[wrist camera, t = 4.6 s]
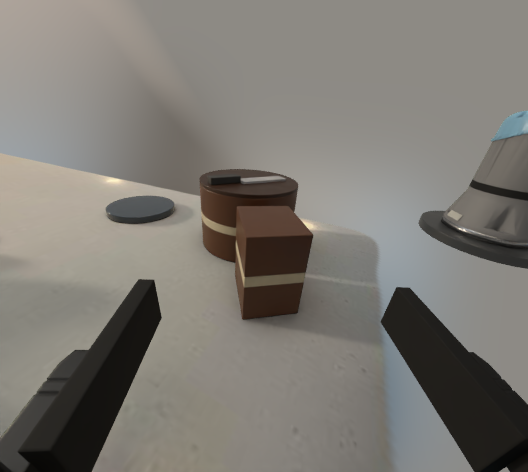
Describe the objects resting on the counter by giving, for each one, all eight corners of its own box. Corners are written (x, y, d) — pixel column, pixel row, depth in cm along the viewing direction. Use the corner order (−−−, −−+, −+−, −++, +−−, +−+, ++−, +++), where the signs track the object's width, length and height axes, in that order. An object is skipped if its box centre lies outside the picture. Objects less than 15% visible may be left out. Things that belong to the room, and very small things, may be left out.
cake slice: (235, 275, 24) (236, 205, 20) (279, 272, 25) (288, 205, 21) (242, 319, 19) (246, 237, 15) (297, 313, 20) (313, 234, 16)
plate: (177, 200, 43) (177, 195, 42) (170, 222, 34) (169, 216, 34) (119, 200, 40) (118, 195, 40) (95, 224, 32) (93, 217, 31)
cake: (276, 220, 38) (282, 165, 34) (301, 260, 28) (315, 188, 23) (203, 222, 35) (200, 162, 31) (202, 266, 25) (196, 186, 21)
